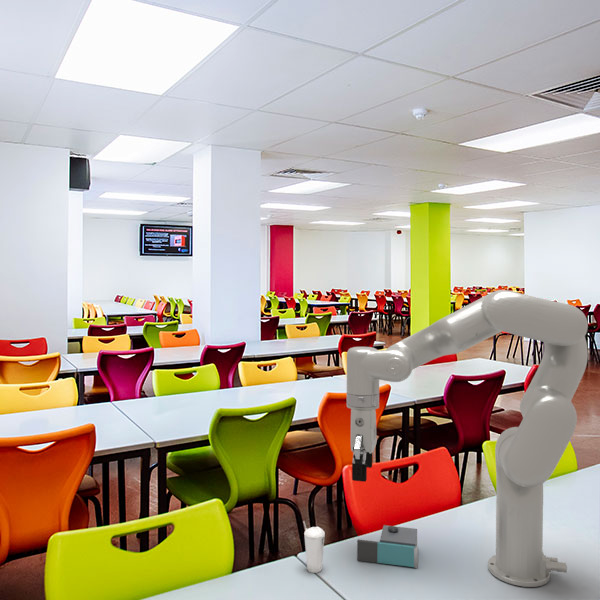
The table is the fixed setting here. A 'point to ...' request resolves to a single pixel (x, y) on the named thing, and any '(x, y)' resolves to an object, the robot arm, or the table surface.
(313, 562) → the milkshake
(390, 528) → the camera case
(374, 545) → the door
